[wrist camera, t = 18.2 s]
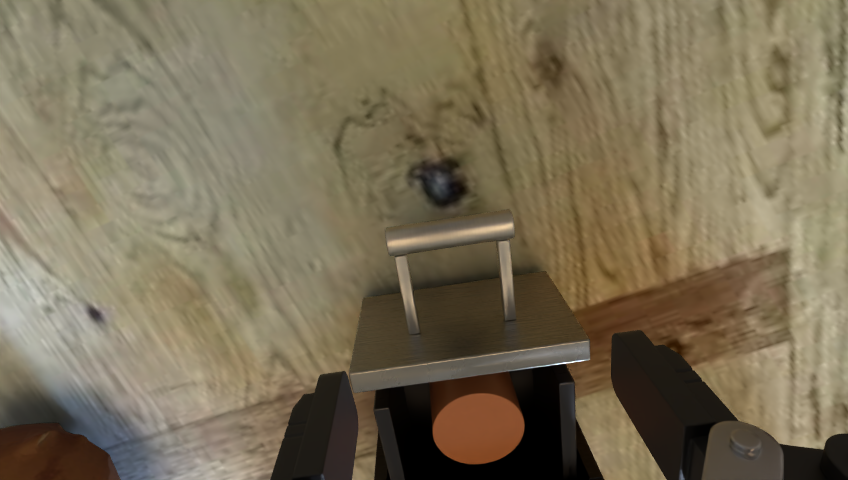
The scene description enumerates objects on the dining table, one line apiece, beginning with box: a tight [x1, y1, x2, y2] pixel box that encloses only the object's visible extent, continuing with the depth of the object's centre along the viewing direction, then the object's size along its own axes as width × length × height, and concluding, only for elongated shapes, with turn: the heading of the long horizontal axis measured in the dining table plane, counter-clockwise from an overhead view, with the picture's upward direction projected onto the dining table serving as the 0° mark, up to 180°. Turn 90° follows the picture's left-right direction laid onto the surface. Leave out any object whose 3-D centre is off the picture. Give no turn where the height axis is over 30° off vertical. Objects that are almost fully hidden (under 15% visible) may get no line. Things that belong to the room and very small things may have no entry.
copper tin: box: [429, 371, 525, 464], centre depth 27 cm, size 5×5×5 cm
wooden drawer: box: [349, 209, 590, 480], centre depth 26 cm, size 19×11×7 cm, turn 8°
